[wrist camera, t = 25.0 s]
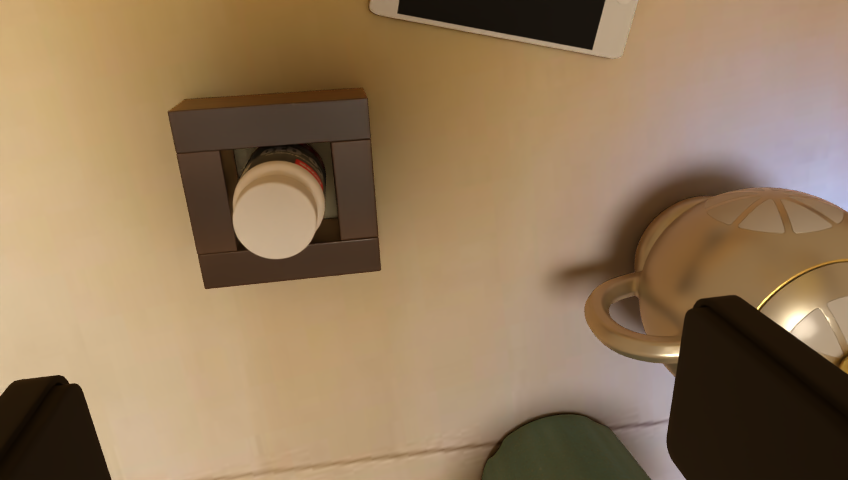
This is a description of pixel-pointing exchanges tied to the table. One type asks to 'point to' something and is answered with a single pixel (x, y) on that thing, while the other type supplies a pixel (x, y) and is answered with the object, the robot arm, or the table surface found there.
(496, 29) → the smartphone
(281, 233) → the pill bottle
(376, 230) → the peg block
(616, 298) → the teapot
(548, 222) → the table surface
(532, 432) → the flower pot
